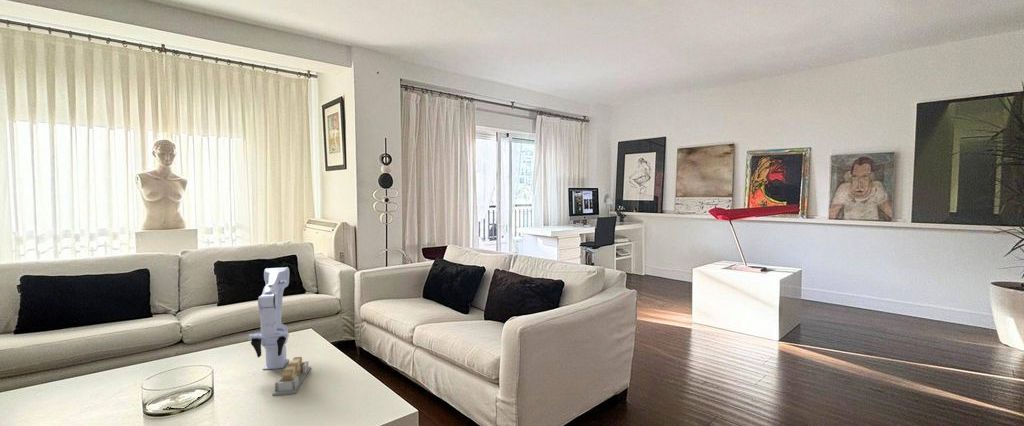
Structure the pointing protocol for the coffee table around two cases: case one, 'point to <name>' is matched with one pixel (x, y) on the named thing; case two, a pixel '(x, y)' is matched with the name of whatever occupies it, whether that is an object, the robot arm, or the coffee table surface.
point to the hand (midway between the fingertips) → (269, 355)
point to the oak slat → (292, 370)
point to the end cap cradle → (291, 382)
